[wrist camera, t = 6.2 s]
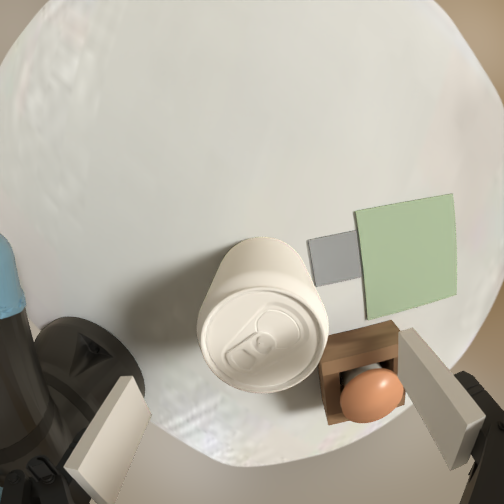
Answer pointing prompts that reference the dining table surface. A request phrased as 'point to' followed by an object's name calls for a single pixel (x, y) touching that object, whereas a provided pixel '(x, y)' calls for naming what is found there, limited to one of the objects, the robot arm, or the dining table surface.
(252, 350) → the beverage can
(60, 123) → the dining table surface
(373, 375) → the plunger
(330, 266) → the pad
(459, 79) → the dining table surface
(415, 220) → the pad
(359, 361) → the housing
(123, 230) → the dining table surface
